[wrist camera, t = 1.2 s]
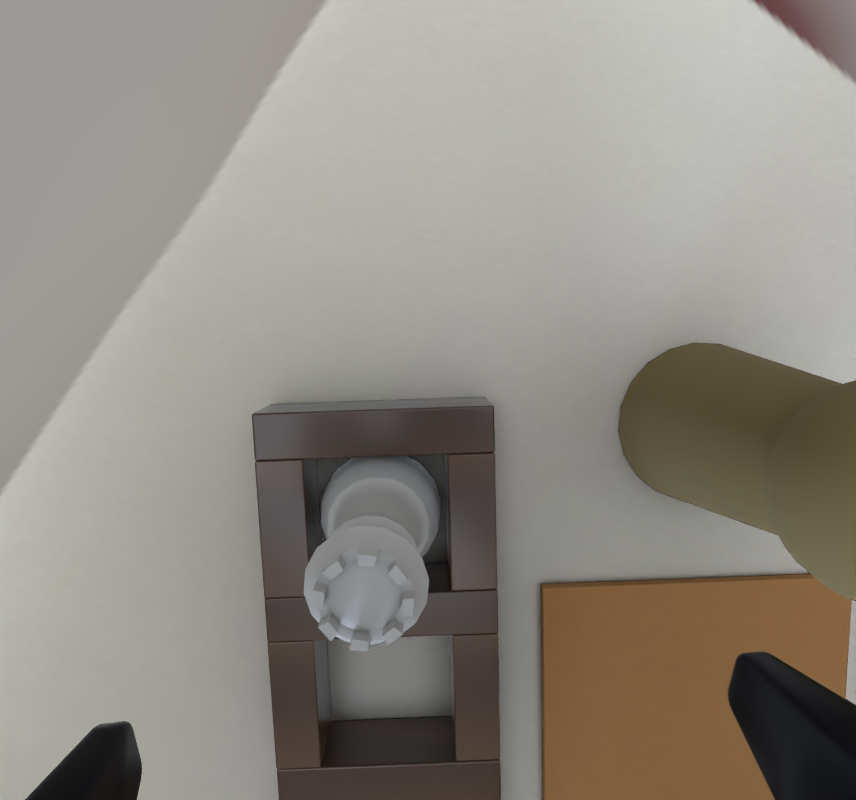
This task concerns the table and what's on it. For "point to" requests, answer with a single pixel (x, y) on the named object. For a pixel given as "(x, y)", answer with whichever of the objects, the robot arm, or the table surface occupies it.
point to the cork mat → (671, 680)
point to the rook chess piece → (373, 550)
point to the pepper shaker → (751, 449)
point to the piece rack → (442, 615)
